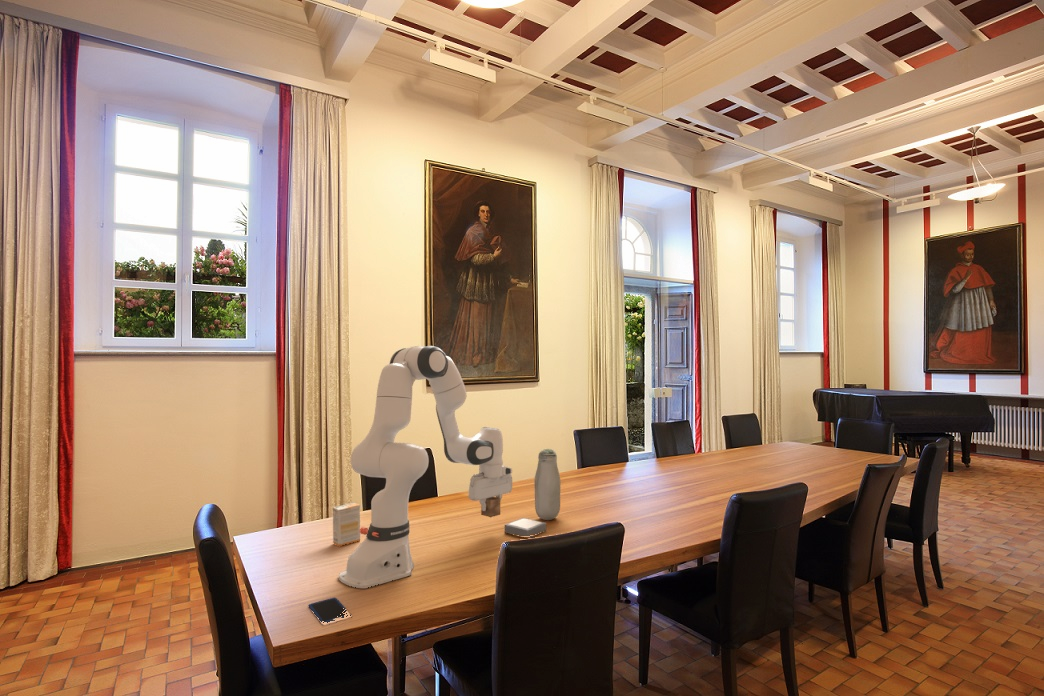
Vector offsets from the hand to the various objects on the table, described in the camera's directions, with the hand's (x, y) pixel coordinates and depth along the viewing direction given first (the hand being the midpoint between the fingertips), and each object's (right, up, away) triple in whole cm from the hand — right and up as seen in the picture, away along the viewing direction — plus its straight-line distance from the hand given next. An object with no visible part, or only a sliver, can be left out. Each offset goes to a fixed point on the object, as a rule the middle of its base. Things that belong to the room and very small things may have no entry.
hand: (490, 508), depth 198 cm
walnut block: (0, -2, 0) cm, 2 cm away
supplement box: (-51, -10, -8) cm, 52 cm away
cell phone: (-38, -9, -60) cm, 71 cm away
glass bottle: (+22, -10, +18) cm, 30 cm away
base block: (+13, -9, +2) cm, 16 cm away
